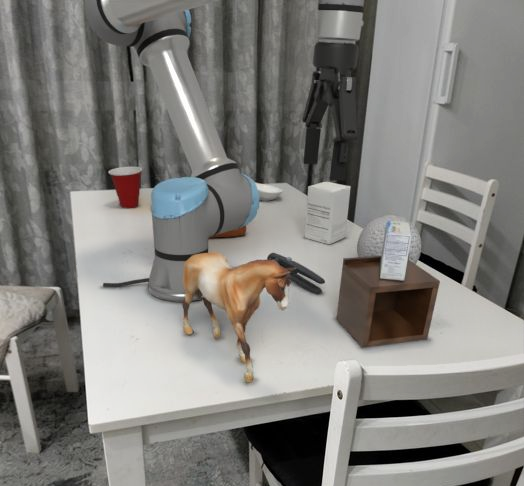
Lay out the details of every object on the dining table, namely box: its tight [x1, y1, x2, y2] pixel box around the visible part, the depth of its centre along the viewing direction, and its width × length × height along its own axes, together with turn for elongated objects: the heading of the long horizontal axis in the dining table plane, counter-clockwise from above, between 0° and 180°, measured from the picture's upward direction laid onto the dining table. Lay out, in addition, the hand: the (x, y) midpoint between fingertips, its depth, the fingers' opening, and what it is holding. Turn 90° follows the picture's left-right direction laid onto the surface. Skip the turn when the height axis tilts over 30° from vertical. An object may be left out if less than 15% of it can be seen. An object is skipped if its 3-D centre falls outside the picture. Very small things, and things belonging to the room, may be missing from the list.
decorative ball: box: [356, 214, 422, 265], centre depth 125 cm, size 15×15×15 cm
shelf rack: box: [335, 255, 441, 348], centre depth 101 cm, size 14×12×13 cm
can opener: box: [266, 252, 326, 295], centre depth 122 cm, size 18×7×6 cm, turn 40°
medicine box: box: [380, 221, 412, 281], centre depth 96 cm, size 8×4×9 cm, turn 168°
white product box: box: [304, 181, 352, 245], centre depth 150 cm, size 9×9×15 cm
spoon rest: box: [254, 181, 284, 202], centre depth 188 cm, size 24×12×7 cm, turn 94°
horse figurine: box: [181, 252, 296, 383], centre depth 90 cm, size 31×8×21 cm, turn 35°
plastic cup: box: [108, 166, 143, 209], centre depth 173 cm, size 11×11×12 cm
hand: (323, 171), depth 100 cm, fingers open, 13 cm apart
